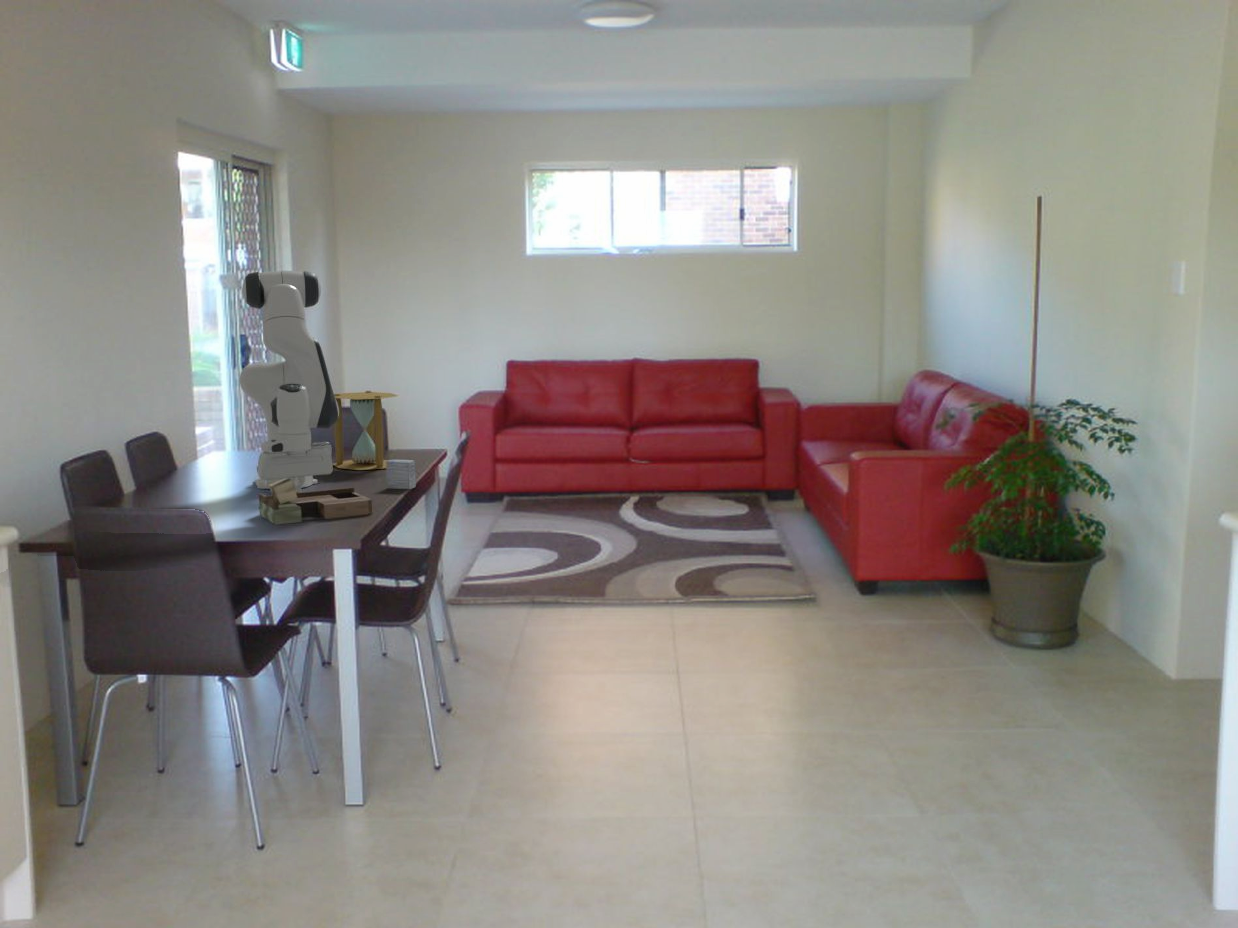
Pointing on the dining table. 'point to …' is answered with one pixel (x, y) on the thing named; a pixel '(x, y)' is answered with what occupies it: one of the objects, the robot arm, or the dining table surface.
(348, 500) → the board
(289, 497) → the maple block
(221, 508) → the dining table surface
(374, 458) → the hourglass
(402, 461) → the medicine box
